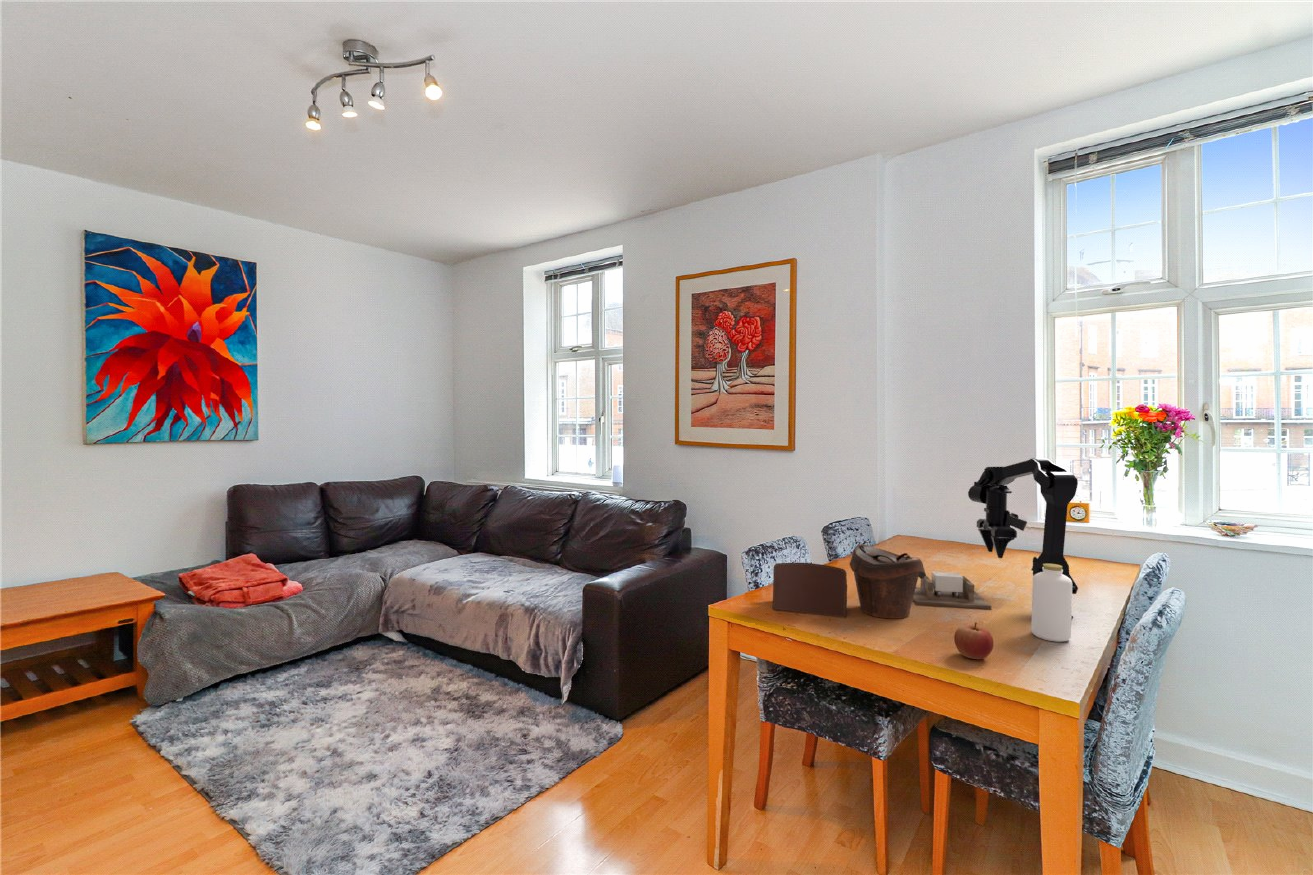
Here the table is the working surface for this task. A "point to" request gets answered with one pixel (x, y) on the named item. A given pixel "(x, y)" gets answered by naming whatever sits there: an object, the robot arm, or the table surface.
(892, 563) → the brown lidded bucket
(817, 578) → the letter holder
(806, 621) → the table surface
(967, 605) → the rack
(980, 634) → the apple
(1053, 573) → the potion bottle
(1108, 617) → the table surface
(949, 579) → the white rectangular block
